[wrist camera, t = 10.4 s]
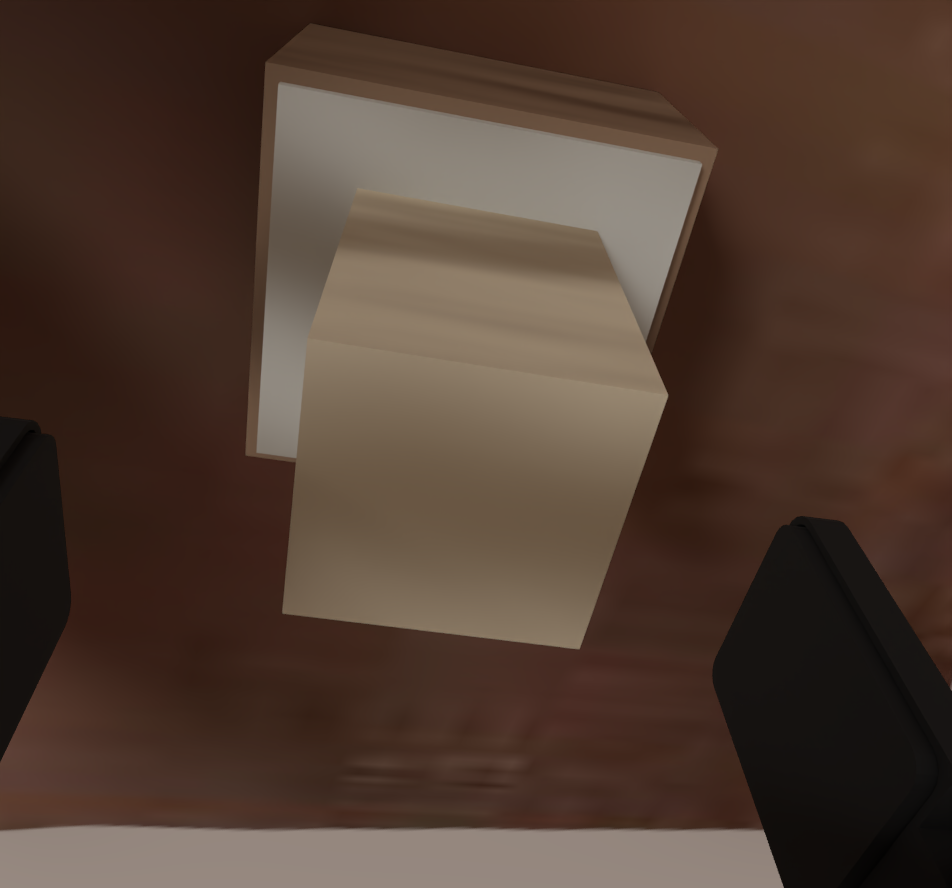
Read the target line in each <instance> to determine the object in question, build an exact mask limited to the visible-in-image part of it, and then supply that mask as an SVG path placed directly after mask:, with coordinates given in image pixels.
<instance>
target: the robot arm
mask: <svg viewBox="0 0 952 888" xmlns="http://www.w3.org/2000/svg"><path fill="white" fill-rule="evenodd" d="M70 605H71V591H70V581H69V571H68V561H67V551H66V541H65V530H64V520H63V510H62V500H61V490H60V480H59V469H58V459H57V449H56V442H55V439H54V437H53V436H52V435H48V434H41V430H40V427H39V425H38V423H37V422H35V421H32V420H24V419H16V418H8V417H0V761H1V759H2V757H3V755H4V753H5V751H6V749H7V747H8V745H9V742H10V740H11V738H12V736H13V734H14V732H15V730H16V728H17V726H18V724H19V722H20V720H21V717H22V715H23V713H24V711H25V709H26V707H27V705H28V703H29V701H30V699H31V697H32V694H33V692H34V690H35V688H36V686H37V684H38V682H39V680H40V678H41V676H42V674H43V671H44V669H45V667H46V665H47V663H48V661H49V659H50V657H51V655H52V653H53V651H54V648H55V646H56V644H57V642H58V640H59V638H60V636H61V634H62V632H63V630H64V628H65V625H66V623H67V619H68V616H69V611H70ZM712 676H713V684H714V688H715V691H716V694H717V697H718V700H719V702H720V705H721V708H722V711H723V714H724V717H725V720H726V723H727V725H728V728H729V731H730V734H731V737H732V740H733V743H734V745H735V748H736V751H737V754H738V757H739V760H740V763H741V766H742V768H743V771H744V774H745V777H746V780H747V783H748V786H749V789H750V791H751V794H752V797H753V800H754V803H755V806H756V809H757V812H758V814H759V817H760V820H761V823H762V826H763V829H764V832H765V834H766V837H767V840H768V843H769V846H770V849H771V852H772V855H773V857H774V860H775V863H776V866H777V869H778V872H779V874H780V878H781V880H782V883H783V886H784V888H952V691H951V689H950V688H949V686H948V684H947V683H946V681H945V680H944V678H943V676H942V675H941V673H940V672H939V670H938V669H937V667H936V665H935V664H934V662H933V661H932V659H931V658H930V656H929V654H928V653H927V651H926V650H925V648H924V647H923V645H922V643H921V642H920V640H919V639H918V637H917V636H916V634H915V632H914V631H913V629H912V628H911V626H910V624H909V623H908V621H907V620H906V618H905V617H904V615H903V613H902V612H901V610H900V609H899V607H898V606H897V604H896V602H895V601H894V599H893V598H892V596H891V595H890V593H889V591H888V590H887V588H886V587H885V585H884V583H883V582H882V580H881V579H880V577H879V576H878V574H877V572H876V571H875V569H874V568H873V566H872V565H871V563H870V561H869V560H868V558H867V557H866V555H865V554H864V552H863V550H862V549H861V547H860V546H859V544H858V543H857V541H856V539H855V538H854V536H853V535H852V533H851V531H850V530H849V528H848V527H847V526H846V525H845V524H844V523H843V522H840V521H837V520H829V519H821V518H813V517H805V516H800V517H797V518H795V519H794V520H793V521H792V522H791V524H790V525H784V526H782V527H781V528H779V530H778V531H777V533H776V535H775V537H774V539H773V541H772V543H771V545H770V547H769V549H768V551H767V553H766V555H765V557H764V559H763V561H762V564H761V566H760V568H759V570H758V572H757V574H756V576H755V578H754V580H753V582H752V584H751V586H750V588H749V590H748V592H747V594H746V596H745V599H744V601H743V603H742V605H741V607H740V609H739V611H738V613H737V615H736V617H735V619H734V621H733V623H732V625H731V627H730V629H729V631H728V634H727V636H726V638H725V640H724V642H723V644H722V646H721V648H720V650H719V652H718V654H717V656H716V658H715V661H714V665H713V675H712Z"/></svg>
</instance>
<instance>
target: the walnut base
mask: <svg viewBox="0 0 952 888" xmlns="http://www.w3.org/2000/svg"><path fill="white" fill-rule="evenodd" d="M717 151H718V148H717V147H716V146H715V145H714V144H713V143H712V142H710V141H709V140H708V139H707V138H706V137H705V136H704V135H703V134H702V133H701V132H700V131H699V130H698V129H697V128H696V127H695V126H694V125H693V124H691V123H690V122H689V121H688V120H687V119H686V118H685V117H684V116H683V115H682V114H681V113H680V112H679V111H678V110H677V109H676V108H675V107H674V106H672V105H671V104H670V103H669V102H668V101H667V100H666V99H665V98H664V97H663V96H662V95H661V94H660V93H659V92H655V91H650V90H645V89H640V88H635V87H630V86H625V85H620V84H615V83H610V82H605V81H599V80H594V79H589V78H584V77H579V76H574V75H569V74H564V73H559V72H554V71H549V70H544V69H539V68H534V67H529V66H524V65H519V64H514V63H509V62H504V61H499V60H494V59H488V58H483V57H478V56H473V55H468V54H463V53H458V52H453V51H448V50H443V49H438V48H433V47H428V46H423V45H418V44H413V43H408V42H403V41H398V40H393V39H388V38H382V37H377V36H372V35H367V34H362V33H357V32H352V31H347V30H342V29H337V28H332V27H327V26H322V25H317V24H312V23H310V24H309V25H308V26H306V27H305V28H304V29H303V30H302V31H301V32H299V33H298V34H297V35H296V36H295V37H294V38H293V39H291V40H290V41H289V42H288V43H287V44H286V45H284V46H283V47H282V48H281V49H280V50H279V51H278V52H276V53H275V54H274V55H273V56H272V57H271V58H270V59H268V60H267V61H266V62H265V80H264V100H263V119H262V139H261V158H260V178H259V197H258V217H257V237H256V256H255V276H254V295H253V315H252V334H251V354H250V374H249V393H248V413H247V432H246V452H245V456H253V457H260V458H267V459H274V460H281V461H288V462H296V457H297V446H298V435H299V424H300V413H301V402H302V391H303V380H304V369H305V358H306V348H307V338H308V335H309V332H310V329H311V326H312V323H313V320H314V317H315V314H316V311H317V308H318V305H319V302H320V299H321V296H322V293H323V290H324V287H325V284H326V281H327V278H328V275H329V272H330V269H331V266H332V263H333V260H334V257H335V254H336V251H337V248H338V245H339V242H340V239H341V236H342V233H343V230H344V227H345V224H346V221H347V218H348V215H349V212H350V209H351V206H352V203H353V200H354V197H355V194H356V191H357V188H360V189H365V190H371V191H376V192H382V193H388V194H393V195H399V196H404V197H410V198H415V199H421V200H427V201H432V202H438V203H443V204H449V205H454V206H460V207H466V208H471V209H477V210H482V211H488V212H493V213H499V214H505V215H510V216H516V217H521V218H527V219H532V220H538V221H544V222H549V223H555V224H560V225H566V226H571V227H577V228H583V229H588V230H594V231H598V233H599V236H600V238H601V240H602V243H603V245H604V247H605V250H606V252H607V254H608V257H609V259H610V261H611V264H612V266H613V268H614V270H615V273H616V275H617V277H618V280H619V282H620V284H621V287H622V289H623V291H624V294H625V296H626V298H627V301H628V303H629V305H630V308H631V310H632V312H633V314H634V317H635V319H636V321H637V324H638V326H639V328H640V331H641V333H642V335H643V338H644V340H645V342H646V345H647V347H648V349H649V352H650V354H652V351H653V348H654V345H655V342H656V339H657V336H658V333H659V330H660V326H661V323H662V320H663V317H664V314H665V311H666V308H667V305H668V302H669V299H670V296H671V293H672V290H673V287H674V283H675V280H676V277H677V274H678V271H679V268H680V265H681V262H682V259H683V256H684V253H685V250H686V247H687V244H688V241H689V237H690V234H691V231H692V228H693V225H694V222H695V219H696V216H697V213H698V210H699V207H700V204H701V201H702V198H703V194H704V191H705V188H706V185H707V182H708V179H709V176H710V173H711V170H712V167H713V164H714V161H715V158H716V155H717Z"/></svg>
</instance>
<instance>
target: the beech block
mask: <svg viewBox="0 0 952 888" xmlns="http://www.w3.org/2000/svg"><path fill="white" fill-rule="evenodd" d="M667 398H668V393H667V391H666V389H665V386H664V384H663V382H662V379H661V377H660V375H659V372H658V370H657V368H656V365H655V363H654V361H653V358H652V356H651V354H650V352H649V349H648V347H647V345H646V342H645V340H644V338H643V335H642V333H641V331H640V328H639V326H638V324H637V321H636V319H635V317H634V314H633V312H632V310H631V308H630V305H629V303H628V301H627V298H626V296H625V294H624V291H623V289H622V287H621V284H620V282H619V280H618V277H617V275H616V273H615V270H614V268H613V266H612V264H611V261H610V259H609V257H608V254H607V252H606V250H605V247H604V245H603V243H602V240H601V238H600V236H599V233H598V231H594V230H588V229H583V228H577V227H571V226H566V225H560V224H555V223H549V222H544V221H538V220H532V219H527V218H521V217H516V216H510V215H505V214H499V213H493V212H488V211H482V210H477V209H471V208H466V207H460V206H454V205H449V204H443V203H438V202H432V201H427V200H421V199H415V198H410V197H404V196H399V195H393V194H388V193H382V192H376V191H371V190H365V189H360V188H357V191H356V194H355V197H354V200H353V203H352V206H351V209H350V212H349V215H348V218H347V221H346V224H345V227H344V230H343V233H342V236H341V239H340V242H339V245H338V248H337V251H336V254H335V257H334V260H333V263H332V266H331V269H330V272H329V275H328V278H327V281H326V284H325V287H324V290H323V293H322V296H321V299H320V302H319V305H318V308H317V311H316V314H315V317H314V320H313V323H312V326H311V329H310V332H309V335H308V338H307V348H306V358H305V369H304V380H303V391H302V402H301V413H300V424H299V435H298V446H297V457H296V468H295V478H294V489H293V500H292V511H291V522H290V533H289V544H288V555H287V566H286V577H285V587H284V598H283V609H282V614H290V615H298V616H307V617H315V618H323V619H331V620H340V621H348V622H356V623H365V624H373V625H381V626H390V627H398V628H406V629H415V630H423V631H431V632H439V633H448V634H456V635H464V636H473V637H481V638H489V639H498V640H506V641H514V642H522V643H531V644H539V645H547V646H556V647H564V648H572V649H580V647H581V644H582V641H583V638H584V635H585V632H586V629H587V627H588V624H589V621H590V618H591V615H592V612H593V609H594V607H595V604H596V601H597V598H598V595H599V592H600V589H601V587H602V584H603V581H604V578H605V575H606V572H607V569H608V567H609V564H610V561H611V558H612V555H613V552H614V549H615V547H616V544H617V541H618V538H619V535H620V532H621V529H622V527H623V524H624V521H625V518H626V515H627V512H628V509H629V507H630V504H631V501H632V498H633V495H634V492H635V489H636V487H637V484H638V481H639V478H640V475H641V472H642V469H643V467H644V464H645V461H646V458H647V455H648V452H649V449H650V447H651V444H652V441H653V438H654V435H655V432H656V429H657V426H658V424H659V421H660V418H661V415H662V412H663V409H664V406H665V404H666V401H667Z"/></svg>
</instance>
